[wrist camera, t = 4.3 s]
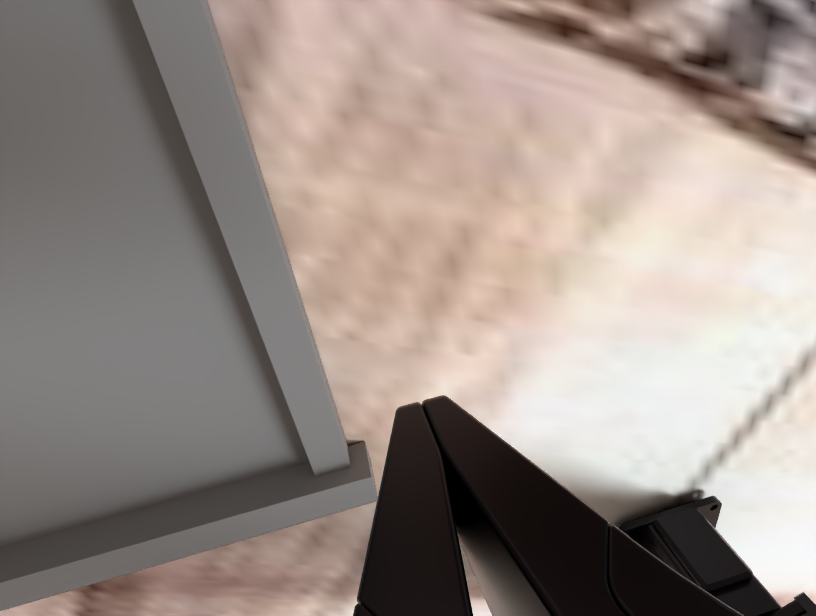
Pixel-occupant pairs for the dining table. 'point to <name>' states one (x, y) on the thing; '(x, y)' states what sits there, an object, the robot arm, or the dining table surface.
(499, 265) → the dining table surface
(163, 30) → the tray
